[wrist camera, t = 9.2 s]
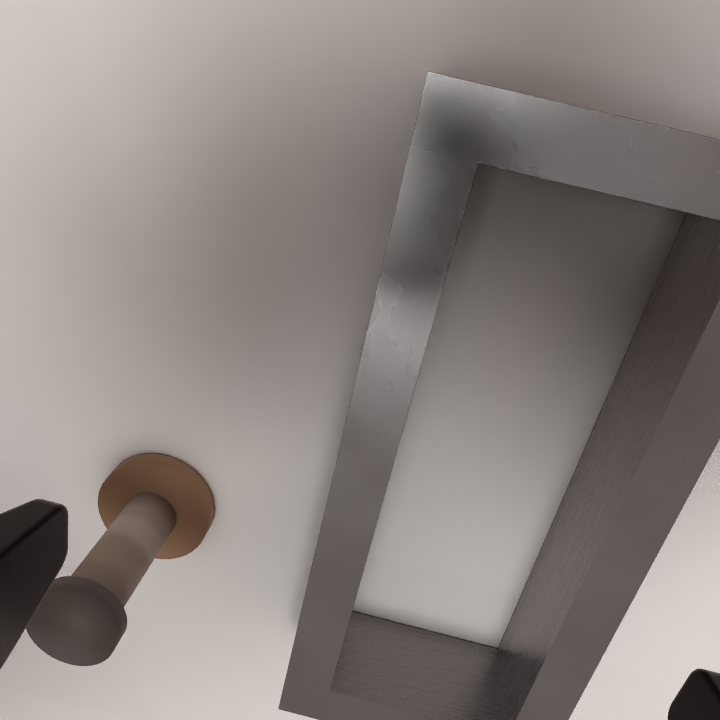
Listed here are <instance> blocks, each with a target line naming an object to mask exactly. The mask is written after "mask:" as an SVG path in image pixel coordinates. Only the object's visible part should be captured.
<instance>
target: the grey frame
mask: <svg viewBox="0 0 720 720" xmlns="http://www.w3.org/2000/svg"><path fill="white" fill-rule="evenodd" d="M478 163H480V164H484V165H489V166H493V167H497V168H501V169H506V170H510V171H514V172H518V173H522V174H527V175H531V176H535V177H539V178H544V179H548V180H552V181H556V182H560V183H565V184H569V185H573V186H577V187H582V188H586V189H590V190H594V191H599V192H603V193H607V194H611V195H615V196H620V197H624V198H628V199H632V200H637V201H641V202H645V203H649V204H653V205H658V206H662V207H666V208H670V209H675V210H679V211H683V212H687V214H686V217H685V219H684V221H683V224H682V226H681V228H680V231H679V233H678V235H677V237H676V240H675V242H674V244H673V247H672V249H671V251H670V254H669V256H668V258H667V261H666V263H665V265H664V267H663V270H662V272H661V274H660V277H659V279H658V281H657V284H656V286H655V288H654V291H653V293H652V295H651V297H650V300H649V302H648V304H647V307H646V309H645V311H644V314H643V316H642V318H641V321H640V323H639V325H638V327H637V330H636V332H635V334H634V337H633V339H632V341H631V344H630V346H629V348H628V350H627V353H626V355H625V357H624V360H623V362H622V364H621V367H620V369H619V371H618V374H617V376H616V378H615V380H614V383H613V385H612V387H611V390H610V392H609V394H608V397H607V399H606V401H605V404H604V406H603V408H602V410H601V413H600V415H599V417H598V420H597V422H596V424H595V427H594V429H593V431H592V434H591V436H590V438H589V440H588V443H587V445H586V447H585V450H584V452H583V454H582V457H581V459H580V461H579V464H578V466H577V468H576V470H575V473H574V475H573V477H572V480H571V482H570V484H569V487H568V489H567V491H566V493H565V496H564V498H563V500H562V503H561V505H560V507H559V510H558V512H557V514H556V517H555V519H554V521H553V523H552V526H551V528H550V530H549V533H548V535H547V537H546V540H545V542H544V544H543V547H542V549H541V551H540V553H539V556H538V558H537V560H536V563H535V565H534V567H533V570H532V572H531V574H530V577H529V579H528V581H527V583H526V586H525V588H524V590H523V593H522V595H521V597H520V600H519V602H518V604H517V607H516V609H515V611H514V613H513V616H512V618H511V620H510V623H509V625H508V627H507V630H506V632H505V634H504V637H503V639H502V641H501V643H500V646H499V648H498V649H496V648H492V647H488V646H484V645H481V644H477V643H473V642H469V641H465V640H461V639H457V638H453V637H450V636H446V635H442V634H438V633H434V632H430V631H426V630H423V629H419V628H415V627H411V626H407V625H403V624H399V623H396V622H392V621H388V620H384V619H380V618H376V617H372V616H369V615H365V614H361V613H357V612H353V611H352V609H353V605H354V602H355V598H356V595H357V591H358V588H359V584H360V580H361V577H362V573H363V570H364V566H365V563H366V559H367V556H368V552H369V549H370V545H371V541H372V538H373V534H374V531H375V527H376V524H377V520H378V517H379V513H380V509H381V506H382V502H383V499H384V495H385V492H386V488H387V485H388V481H389V478H390V474H391V470H392V467H393V463H394V460H395V456H396V453H397V449H398V446H399V442H400V438H401V435H402V431H403V428H404V424H405V421H406V417H407V414H408V410H409V407H410V403H411V399H412V396H413V392H414V389H415V385H416V382H417V378H418V375H419V371H420V367H421V364H422V360H423V357H424V353H425V350H426V346H427V343H428V339H429V336H430V332H431V328H432V325H433V321H434V318H435V314H436V311H437V307H438V304H439V300H440V296H441V293H442V289H443V286H444V282H445V279H446V275H447V272H448V268H449V265H450V261H451V257H452V254H453V250H454V247H455V243H456V240H457V236H458V233H459V229H460V225H461V222H462V218H463V215H464V211H465V208H466V204H467V201H468V197H469V194H470V190H471V186H472V183H473V179H474V176H475V172H476V169H477V165H478ZM719 439H720V139H715V138H711V137H707V136H703V135H698V134H694V133H690V132H685V131H681V130H677V129H672V128H668V127H664V126H660V125H655V124H651V123H647V122H642V121H638V120H634V119H630V118H625V117H621V116H617V115H612V114H608V113H604V112H600V111H595V110H591V109H587V108H582V107H578V106H574V105H569V104H565V103H561V102H557V101H552V100H548V99H544V98H539V97H535V96H531V95H527V94H522V93H518V92H514V91H509V90H505V89H501V88H496V87H492V86H488V85H484V84H479V83H475V82H471V81H466V80H462V79H458V78H454V77H449V76H445V75H441V74H436V73H432V72H428V73H427V78H426V82H425V86H424V90H423V95H422V99H421V103H420V107H419V112H418V116H417V120H416V124H415V129H414V133H413V137H412V141H411V146H410V150H409V154H408V159H407V163H406V167H405V171H404V176H403V180H402V184H401V188H400V193H399V197H398V201H397V205H396V210H395V214H394V218H393V222H392V227H391V231H390V235H389V240H388V244H387V248H386V252H385V257H384V261H383V265H382V269H381V274H380V278H379V282H378V286H377V291H376V295H375V299H374V304H373V308H372V312H371V316H370V321H369V325H368V329H367V333H366V338H365V342H364V346H363V350H362V355H361V359H360V363H359V367H358V372H357V376H356V380H355V385H354V389H353V393H352V397H351V402H350V406H349V410H348V414H347V419H346V423H345V427H344V431H343V436H342V440H341V444H340V448H339V453H338V457H337V461H336V466H335V470H334V474H333V478H332V483H331V487H330V491H329V495H328V500H327V504H326V508H325V512H324V517H323V521H322V525H321V529H320V534H319V538H318V542H317V547H316V551H315V555H314V559H313V564H312V568H311V572H310V576H309V581H308V585H307V589H306V593H305V598H304V602H303V606H302V610H301V615H300V619H299V623H298V628H297V632H296V636H295V640H294V645H293V649H292V653H291V657H290V662H289V666H288V670H287V674H286V679H285V683H284V687H283V691H282V696H281V700H280V704H279V709H281V710H284V711H288V712H292V713H296V714H299V715H303V716H307V717H311V718H315V719H318V720H568V719H569V718H570V716H571V714H572V712H573V710H574V708H575V706H576V705H577V703H578V701H579V699H580V697H581V695H582V693H583V692H584V690H585V688H586V686H587V684H588V682H589V680H590V679H591V677H592V675H593V673H594V671H595V669H596V667H597V666H598V664H599V662H600V660H601V658H602V656H603V654H604V653H605V651H606V649H607V647H608V645H609V643H610V641H611V640H612V638H613V636H614V634H615V632H616V630H617V628H618V627H619V625H620V623H621V621H622V619H623V617H624V615H625V614H626V612H627V610H628V608H629V606H630V604H631V602H632V601H633V599H634V597H635V595H636V593H637V591H638V589H639V588H640V586H641V584H642V582H643V580H644V578H645V576H646V575H647V573H648V571H649V569H650V567H651V565H652V563H653V562H654V560H655V558H656V556H657V554H658V552H659V550H660V549H661V547H662V545H663V543H664V541H665V539H666V537H667V536H668V534H669V532H670V530H671V528H672V526H673V524H674V523H675V521H676V519H677V517H678V515H679V513H680V511H681V510H682V508H683V506H684V504H685V502H686V500H687V498H688V497H689V495H690V493H691V491H692V489H693V487H694V485H695V484H696V482H697V480H698V478H699V476H700V474H701V472H702V471H703V469H704V467H705V465H706V463H707V461H708V459H709V458H710V456H711V454H712V452H713V450H714V448H715V446H716V445H717V443H718V441H719Z"/></svg>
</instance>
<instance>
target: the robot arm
mask: <svg viewBox="0 0 720 720" xmlns="http://www.w3.org/2000/svg"><path fill="white" fill-rule="evenodd" d="M67 550H68V511H67V508H66V507H65V506H64V505H62V504H59V503H55V502H51V501H47V500H43V499H36V500H33V501H30V502H28V503H25V504H23V505H20V506H18V507H16V508H13V509H11V510H9V511H6V512H4V513H1V514H0V669H1V668H2V666H3V665H4V663H5V661H6V660H7V658H8V657H9V655H10V653H11V652H12V650H13V649H14V647H15V645H16V643H17V642H18V640H19V638H20V637H21V635H22V633H23V632H24V630H25V628H26V627H27V625H28V623H29V621H30V620H31V618H32V616H33V615H34V613H35V611H36V610H37V608H38V606H39V605H40V603H41V601H42V600H43V598H44V596H45V594H46V593H47V591H48V589H49V588H50V586H51V584H52V583H53V581H54V579H55V578H56V576H57V574H58V572H59V571H60V569H61V567H62V565H63V563H64V561H65V558H66V555H67ZM668 720H720V673H716V672H712V671H708V670H704V669H696V670H695V671H693V672H692V673H691V674H690V675H689V677H688V678H687V680H686V682H685V683H684V685H683V686H682V688H681V689H680V691H679V693H678V694H677V696H676V697H675V699H674V700H673V702H672V704H671V706H670V709H669V713H668Z"/></svg>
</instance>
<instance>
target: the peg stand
mask: <svg viewBox="0 0 720 720" xmlns="http://www.w3.org/2000/svg"><path fill="white" fill-rule="evenodd" d="M98 508H99V513H100V516H101V518H102V520H103V522H104V524H105V526H106V528H107V531H106V532H105V533H104V535H103V536H102V537H101V538H100V540H99V541H98V542H97V544H96V545H95V546H94V547H93V549H92V550H91V551H90V552H89V554H88V555H87V556H86V558H85V559H84V560H83V561H82V563H81V564H80V565H79V567H78V568H77V569H76V570H75V572H74V573H73V574H72V575H71V576H65V577H60V578H56V579H54V581H53V583H52V584H51V586H50V588H49V589H48V591H47V593H46V594H45V596H44V598H43V600H42V601H41V603H40V605H39V606H38V608H37V610H36V611H35V613H34V615H33V616H32V618H31V620H30V621H29V623H28V625H27V627H26V629H27V632H28V634H29V635H30V637H31V639H32V640H33V641H34V643H35V644H36V645H37V646H38V647H39V648H40V649H42V650H43V651H44V652H45V653H47V654H48V655H50V656H51V657H53V658H55V659H57V660H59V661H62V662H65V663H68V664H72V665H78V666H91V665H96V664H99V663H101V662H103V661H105V660H106V659H108V658H109V656H110V655H111V654H112V652H113V651H114V649H115V647H116V646H117V644H118V642H119V641H120V639H121V637H122V635H123V634H124V632H125V630H126V627H127V616H126V612H125V610H124V606H125V604H126V603H127V601H128V600H129V598H130V597H131V595H132V593H133V592H134V590H135V589H136V587H137V585H138V584H139V582H140V581H141V579H142V577H143V576H144V574H145V573H146V571H147V569H148V568H149V566H150V565H151V563H152V562H153V560H154V558H158V559H172V558H178V557H181V556H184V555H186V554H188V553H190V552H192V551H193V550H194V549H196V548H197V547H198V546H199V544H200V543H201V542H202V540H203V538H204V536H205V535H206V533H207V531H208V529H209V527H210V525H211V523H212V521H213V518H214V512H215V506H214V500H213V496H212V493H211V491H210V489H209V487H208V485H207V484H206V482H205V481H204V479H203V478H202V477H201V476H200V475H199V474H198V473H197V472H196V471H195V470H194V469H193V468H191V467H190V466H188V465H187V464H185V463H183V462H182V461H180V460H178V459H175V458H173V457H170V456H166V455H162V454H154V453H148V454H139V455H136V456H132V457H130V458H128V459H126V460H125V461H123V462H122V463H121V464H120V465H119V466H118V467H117V468H116V469H115V470H114V471H113V472H112V473H111V474H110V476H109V477H108V478H107V479H106V480H105V482H104V483H103V484H102V487H101V489H100V492H99V496H98Z"/></svg>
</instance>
